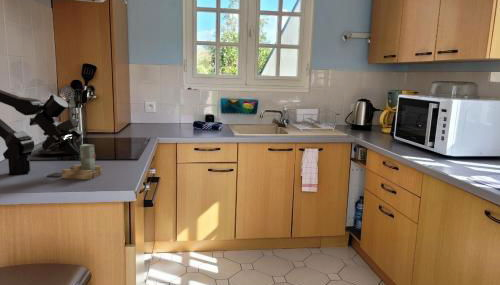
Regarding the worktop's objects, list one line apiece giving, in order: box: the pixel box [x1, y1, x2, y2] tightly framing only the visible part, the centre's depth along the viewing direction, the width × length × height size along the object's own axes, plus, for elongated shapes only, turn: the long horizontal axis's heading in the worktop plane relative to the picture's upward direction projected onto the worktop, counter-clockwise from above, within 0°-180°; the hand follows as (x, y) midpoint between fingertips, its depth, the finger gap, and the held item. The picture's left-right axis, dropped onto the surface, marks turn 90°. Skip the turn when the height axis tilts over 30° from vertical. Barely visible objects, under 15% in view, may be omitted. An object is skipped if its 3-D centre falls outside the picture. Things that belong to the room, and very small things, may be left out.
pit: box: [46, 172, 62, 178], centre depth 145 cm, size 5×5×1 cm
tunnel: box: [61, 163, 102, 180], centre depth 145 cm, size 11×8×4 cm
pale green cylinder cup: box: [79, 143, 101, 179], centre depth 144 cm, size 7×5×12 cm
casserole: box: [37, 133, 84, 156], centre depth 189 cm, size 25×19×8 cm
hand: (79, 155), depth 144 cm, fingers closed
